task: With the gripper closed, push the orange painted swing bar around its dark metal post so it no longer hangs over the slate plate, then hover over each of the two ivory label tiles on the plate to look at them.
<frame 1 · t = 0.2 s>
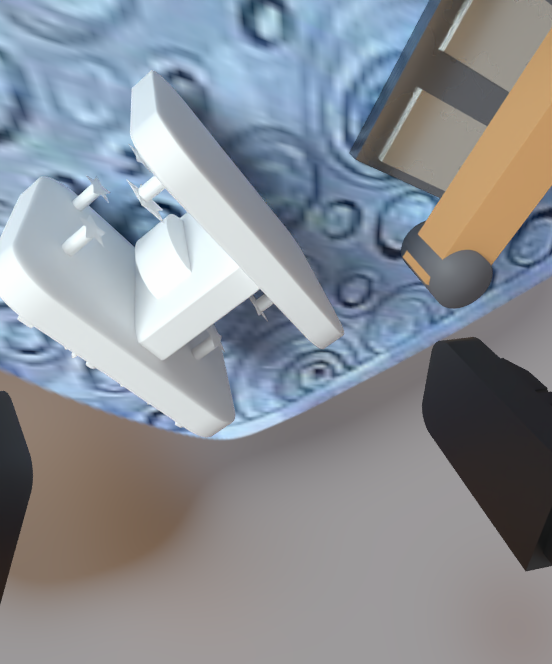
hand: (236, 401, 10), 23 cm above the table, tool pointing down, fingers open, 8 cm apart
swing bar: (519, 154, 25), point 8 cm above the table, hinge at 0.0°
cable organizer: (176, 219, 32), on the table
label plate: (458, 88, 30), on the table
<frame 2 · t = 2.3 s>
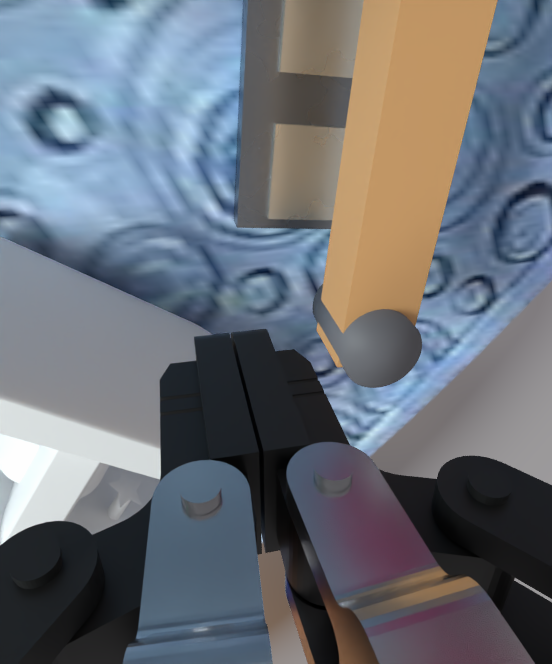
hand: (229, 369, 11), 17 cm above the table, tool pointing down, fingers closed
swing bar: (393, 170, 18), point 8 cm above the table, hinge at 0.0°
cable organizer: (77, 353, 28), on the table
label plate: (332, 99, 24), on the table
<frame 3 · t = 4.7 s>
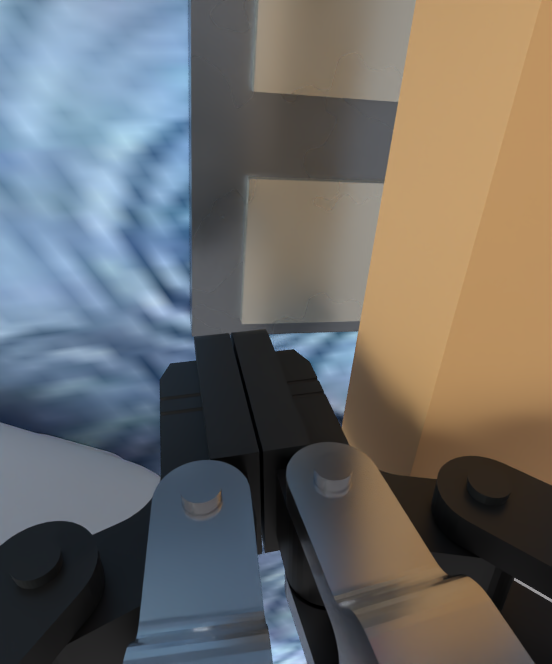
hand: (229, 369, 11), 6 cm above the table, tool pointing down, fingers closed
swing bar: (481, 302, 9), point 8 cm above the table, hinge at 0.5°, touching gripper
label plate: (344, 133, 15), on the table
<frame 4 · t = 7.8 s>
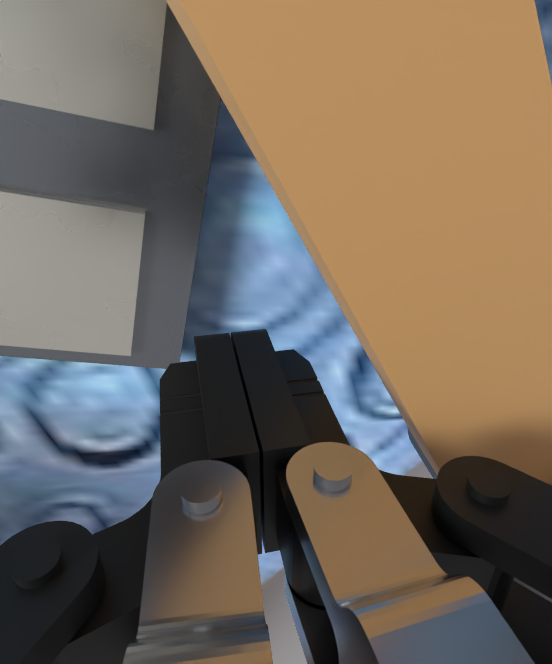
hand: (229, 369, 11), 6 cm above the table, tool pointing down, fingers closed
swing bar: (420, 241, 8), point 8 cm above the table, hinge at 42.2°, touching gripper
label plate: (32, 139, 13), on the table
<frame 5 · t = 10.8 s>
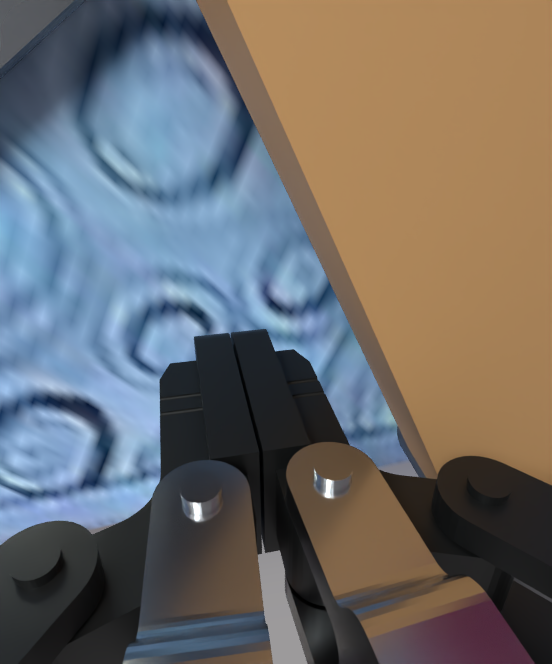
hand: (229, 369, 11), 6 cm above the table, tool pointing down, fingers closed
swing bar: (426, 238, 8), point 8 cm above the table, hinge at 80.7°, touching gripper
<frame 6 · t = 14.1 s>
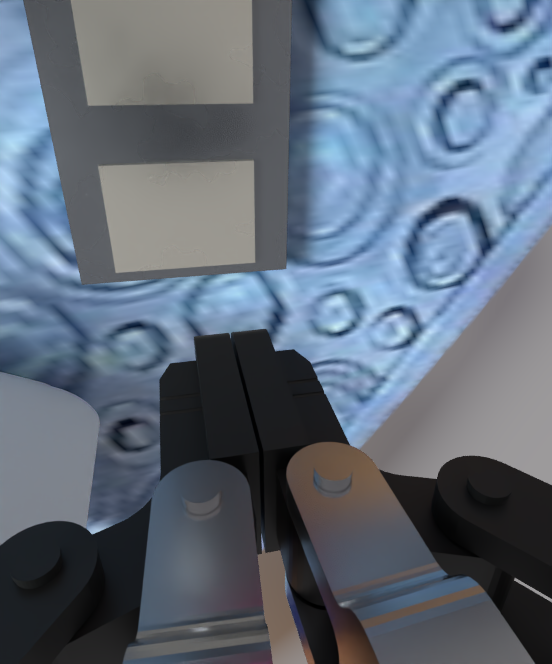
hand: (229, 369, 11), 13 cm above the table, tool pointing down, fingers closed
label plate: (174, 128, 20), on the table
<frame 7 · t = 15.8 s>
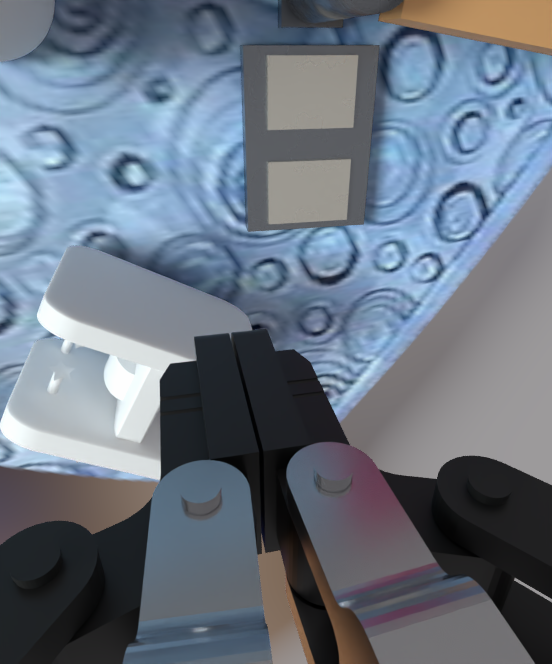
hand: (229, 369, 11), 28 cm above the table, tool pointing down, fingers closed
swing bar: (531, 14, 27), point 8 cm above the table, hinge at 81.4°
cable organizer: (145, 326, 41), on the table
label plate: (305, 141, 36), on the table
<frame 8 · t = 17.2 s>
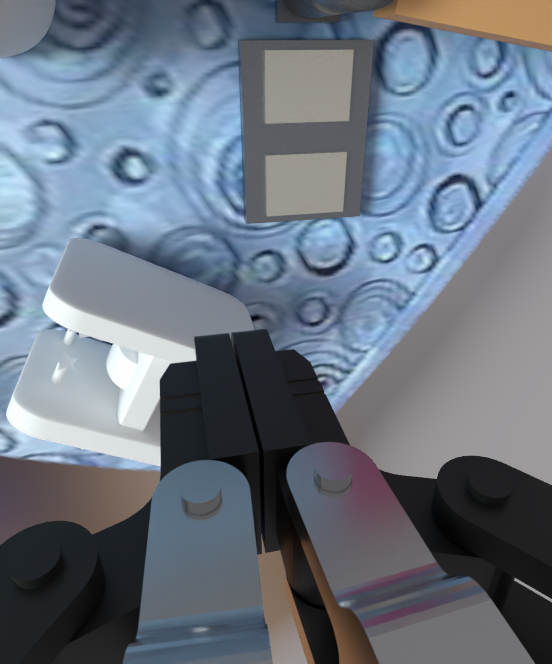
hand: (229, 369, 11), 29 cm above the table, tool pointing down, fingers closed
swing bar: (521, 10, 28), point 8 cm above the table, hinge at 81.4°
cable organizer: (146, 318, 42), on the table
label plate: (302, 134, 37), on the table
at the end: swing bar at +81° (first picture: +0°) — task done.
